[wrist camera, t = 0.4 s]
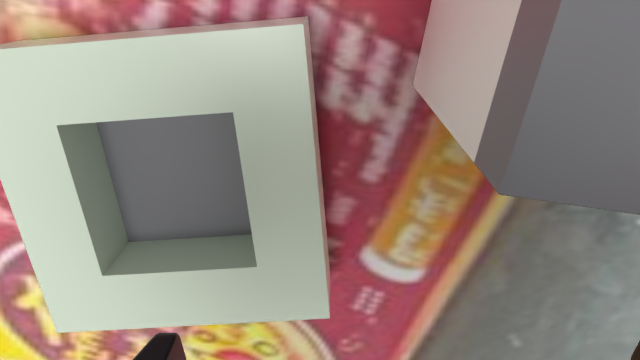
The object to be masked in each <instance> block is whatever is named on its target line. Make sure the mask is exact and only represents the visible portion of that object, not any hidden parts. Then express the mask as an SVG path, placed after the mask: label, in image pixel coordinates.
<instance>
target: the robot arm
mask: <svg viewBox="0 0 640 360" xmlns="http://www.w3.org/2000/svg"><path fill="white" fill-rule="evenodd" d="M133 360H186V356H185V353H184V349H183V346H182V342H181V339H180V336H179V335H178V334H177V333H158V334H157V335H155V336H154V337H153V338H152V339H151V340H150V341H149V342H148V343H147V345H146V346H145V347H144V348H143V349H142V350H141V351H140V352H139V353H138V355H137V356H136V357H135V358H134V359H133ZM631 360H640V341H639V343H638V345H637V347H636V349H635V351H634V352H633V354H632V356H631Z"/></svg>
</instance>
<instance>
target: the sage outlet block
mask: <svg viewBox="0 0 640 360" xmlns="http://www.w3.org/2000/svg"><path fill="white" fill-rule="evenodd" d="M0 180H1V182H2V185H3V188H4V190H5V193H6V196H7V199H8V201H9V204H10V207H11V209H12V212H13V215H14V217H15V220H16V223H17V226H18V228H19V231H20V234H21V236H22V239H23V242H24V245H25V247H26V250H27V253H28V255H29V258H30V261H31V264H32V266H33V269H34V272H35V274H36V277H37V280H38V282H39V285H40V288H41V291H42V293H43V296H44V299H45V301H46V304H47V307H48V310H49V312H50V315H51V318H52V320H53V323H54V326H55V328H56V331H57V333H62V332H81V331H100V330H119V329H138V328H157V327H176V326H195V325H214V324H233V323H252V322H271V321H290V320H309V319H328V318H330V265H329V254H328V242H327V230H326V219H325V207H324V195H323V184H322V172H321V160H320V149H319V137H318V125H317V114H316V102H315V90H314V79H313V67H312V55H311V43H310V32H309V20H308V16H306V17H294V18H282V19H270V20H258V21H246V22H234V23H222V24H211V25H199V26H187V27H175V28H163V29H151V30H139V31H127V32H115V33H104V34H92V35H80V36H68V37H56V38H44V39H32V40H20V41H15V42H9V43H4V44H0Z"/></svg>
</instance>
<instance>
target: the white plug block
mask: <svg viewBox="0 0 640 360" xmlns="http://www.w3.org/2000/svg"><path fill="white" fill-rule="evenodd" d="M413 87H414V88H415V89H416V90H417V92H418V93H419V94H420V95H421V97H422V98H423V99H424V100H425V102H426V103H427V104H428V105H429V107H430V108H431V109H432V111H433V112H434V113H435V114H436V116H437V117H438V118H439V119H440V121H441V122H442V123H443V124H444V126H445V127H446V128H447V129H448V131H449V132H450V133H451V134H452V136H453V137H454V138H455V140H456V141H457V142H458V143H459V145H460V146H461V147H462V148H463V150H464V151H465V152H466V153H467V155H468V156H469V157H470V158H471V160H472V161H473V162H474V164H475V165H476V166H477V167H478V169H479V170H480V171H481V172H482V174H483V175H484V176H485V177H486V179H487V180H488V181H489V182H490V184H491V185H492V186H493V187H494V189H495V190H496V191H497V193H498V194H500V195H507V196H514V197H520V198H527V199H534V200H541V201H548V202H555V203H562V204H569V205H576V206H583V207H590V208H597V209H604V210H611V211H617V212H624V213H631V214H638V215H640V0H432V2H431V6H430V11H429V15H428V20H427V24H426V29H425V33H424V37H423V42H422V46H421V51H420V55H419V60H418V64H417V69H416V73H415V78H414V82H413Z"/></svg>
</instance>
